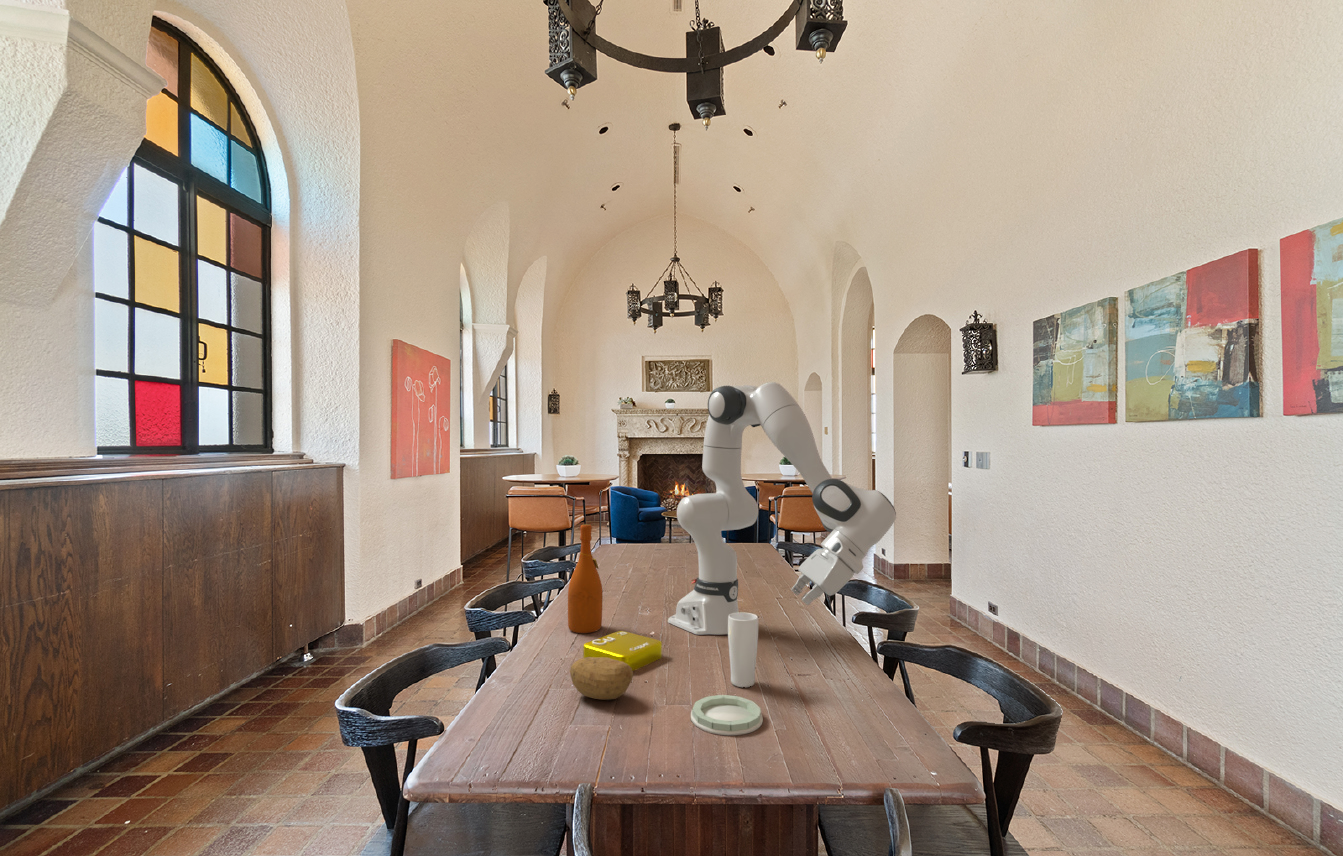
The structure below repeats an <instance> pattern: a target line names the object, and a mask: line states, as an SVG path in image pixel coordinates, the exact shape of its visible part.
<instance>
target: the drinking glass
mask: <svg viewBox="0 0 1343 856" xmlns="http://www.w3.org/2000/svg"><path fill="white" fill-rule="evenodd" d="M727 638H728V639H727V641H728V651H729V654H728V655H729V666H730V668H729V670H730V683H731V684H732V685H733V686H734V687H737V688H743V687H745V688H750V686H751V687H752V686H754V685H755V682H756V665H757V651H758V641H759V616H757V614H755V613H751V612H744V611H743V612H741V611H740V612H737V613H732V614H730V615H729V616H728V634H727Z"/></svg>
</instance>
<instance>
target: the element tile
mask: <svg viewBox="0 0 1343 856" xmlns="http://www.w3.org/2000/svg"><path fill="white" fill-rule="evenodd" d="M662 645H663V642H662V641H661V640H659V639H655V638H652V637H648V636H645V635H640V634H636V633H632V632H629V631H624V630H619V631H616V632H613V633H609V634H607V635H604V636H601V637H597V638H596V639H593V640H590V641H587V642H584V644H583V645H582V646H583V650H582V651H583V655H582V656H583V657H582V658H586V657H596V658H598V657H606V658H610V659H613V660H618V661H622V662H624V663H626V664H628V665H629V666H630V667H631V668H632V672H634V671H636V669H637V670H639V669H641V668H643V667H646V666H647V664H648V665H650V664H652V663H654V661H655V662H657V661H659V660H661V659H662V657H663V655H662V652H663V650H662V647H663V646H662ZM658 659H659V660H658ZM656 660H657V661H656ZM645 665H646V666H645Z"/></svg>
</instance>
